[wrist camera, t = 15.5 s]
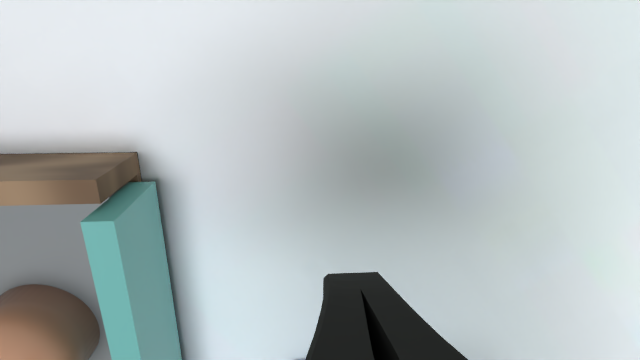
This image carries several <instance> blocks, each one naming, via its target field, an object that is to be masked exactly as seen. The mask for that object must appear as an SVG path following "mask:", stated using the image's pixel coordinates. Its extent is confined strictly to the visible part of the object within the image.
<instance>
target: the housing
mask: <svg viewBox="0 0 640 360" xmlns="http://www.w3.org/2000/svg"><path fill="white" fill-rule="evenodd" d="M127 182H142V180H141V174H140V168H139V162H138V156H137V152H133V153H54V154H0V206H18V205H64V204H101V203H102V202H103V201H105V200H106V199H107V198H108V197H110V196H111V195H112V194H113V193H115V192H116V191H117V190H118V189H120V188H121V187H122V186H123V185H125V184H126V183H127Z"/></svg>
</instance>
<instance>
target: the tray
mask: <svg viewBox="0 0 640 360" xmlns="http://www.w3.org/2000/svg"><path fill="white" fill-rule="evenodd" d="M31 284H38V285H47V286H52V287H56V288H59V289H62V290H65V291H67V292H69V293H71V294H73V295H74V296H76V297H77V298H79V299H80V300H81V301H83V302H84V303H85V304H86V305H87V306H88V307H89V308H90V310H91V311H92V312H93V314H94V315H95V317H96V319H97V321H98V324H99V328H100V339H99V343H98V346H97V348H96V350H95V351H94V353H93V354H92V356H91V357H90V359H89V360H182V357H181V350H180V343H179V337H178V330H177V323H176V317H175V310H174V304H173V297H172V290H171V284H170V277H169V270H168V264H167V257H166V250H165V244H164V237H163V230H162V224H161V217H160V210H159V204H158V197H157V190H156V184H155V182H127V183H126V184H125V185H123V186H122V187H121V188H120V189H118V190H117V191H116V192H115V193H113V194H112V195H111V196H110V197H108V198H107V199H106V200H105V201H103V202H102V203H101V204H64V205H18V206H0V295H1V294H2V293H4V292H6V291H7V290H9V289H12V288H14V287H18V286H22V285H31Z"/></svg>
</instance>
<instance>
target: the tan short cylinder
mask: <svg viewBox="0 0 640 360" xmlns="http://www.w3.org/2000/svg"><path fill="white" fill-rule="evenodd" d="M99 339H100V328H99V324H98V321H97V319H96V317H95V315H94V314H93V312H92V311H91V310H90V308H89V307H88V306H87V305H86V304H85V303H84V302H83V301H81V300H80V299H79V298H77V297H76V296H74V295H73V294H71V293H69V292H67V291H65V290H62V289H59V288H56V287H52V286H47V285H38V284H31V285H22V286H18V287H14V288H12V289H9V290H7V291H6V292H4V293H2V294H1V295H0V360H89V359H90V357H91V356H92V354H93V353H94V351H95V350H96V348H97V346H98V343H99Z"/></svg>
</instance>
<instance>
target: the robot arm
mask: <svg viewBox="0 0 640 360" xmlns="http://www.w3.org/2000/svg"><path fill="white" fill-rule="evenodd" d="M305 360H468V359H467V358H465V357H464V356H463V355H462V354H461V353H460V352H458V351H457V350H456V349H455V348H454V347H453V346H451V345H450V344H449V343H448V342H447V341H446V340H444V339H443V338H442V337H441V336H440V335H439V334H438V333H437V332H436V331H435V330H434V329H433V328H432V327H431V326H430V325H428V324H427V323H426V322H425V321H424V320H423V319H422V318H421V317H420V316H419V315H418V314H417V313H416V312H415V311H414V310H413V309H412V308H411V307H410V306H409V305H408V304H407V303H406V302H405V301H404V300H403V299H402V298H401V297H400V295H399V294H398V293H397V292H396V291H395V290H394V289H393V288H392V287H391V286H390V285H389V284H388V283H387V282H386V281H385V280H384V278H383V277H382V276H381V275H380V274H379V273H378V272H368V273H340V274H328V275H326V276H325V277H324V283H323V303H322V308H321V312H320V316H319V320H318V323H317V327H316V331H315V334H314V337H313V340H312V343H311V345H310V348H309V351H308V354H307V357H306V359H305Z"/></svg>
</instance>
